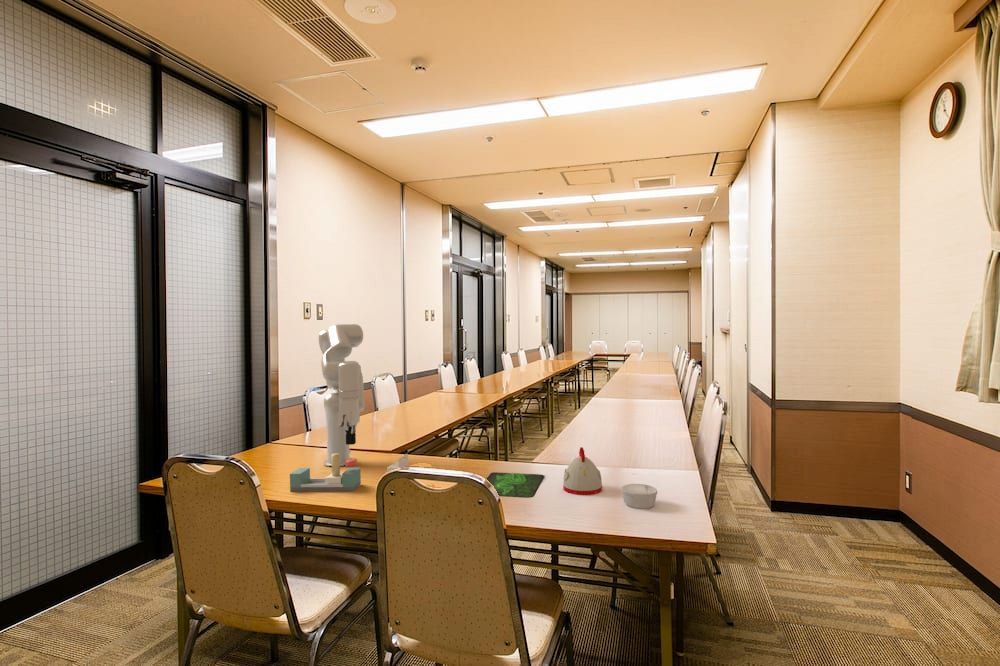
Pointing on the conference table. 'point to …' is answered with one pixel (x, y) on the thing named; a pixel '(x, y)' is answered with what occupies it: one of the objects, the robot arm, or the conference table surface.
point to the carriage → (334, 471)
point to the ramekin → (639, 496)
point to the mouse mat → (515, 484)
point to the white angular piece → (399, 463)
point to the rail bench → (304, 483)
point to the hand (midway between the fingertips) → (350, 444)
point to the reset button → (351, 463)
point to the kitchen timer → (582, 477)
